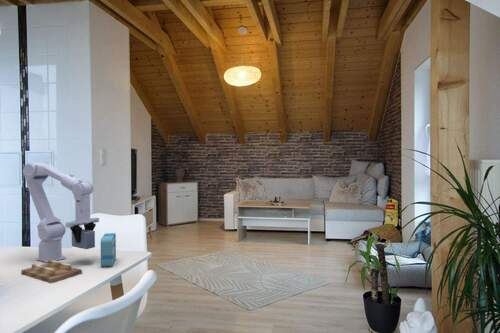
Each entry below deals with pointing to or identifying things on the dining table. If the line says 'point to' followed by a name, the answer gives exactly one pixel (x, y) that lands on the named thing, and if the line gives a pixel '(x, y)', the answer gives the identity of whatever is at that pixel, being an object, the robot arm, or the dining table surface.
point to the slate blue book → (85, 239)
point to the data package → (108, 249)
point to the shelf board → (51, 271)
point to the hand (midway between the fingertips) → (83, 241)
